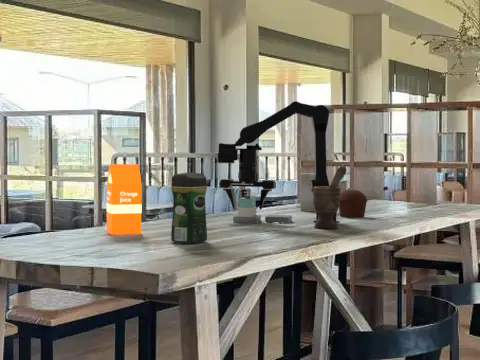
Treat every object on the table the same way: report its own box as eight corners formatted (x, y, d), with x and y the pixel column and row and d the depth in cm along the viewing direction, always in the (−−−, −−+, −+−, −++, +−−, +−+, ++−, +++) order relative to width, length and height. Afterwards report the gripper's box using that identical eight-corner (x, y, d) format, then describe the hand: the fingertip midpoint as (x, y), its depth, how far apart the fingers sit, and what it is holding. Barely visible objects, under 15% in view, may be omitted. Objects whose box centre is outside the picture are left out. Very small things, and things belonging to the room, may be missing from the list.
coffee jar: (188, 239, 216) (189, 171, 215) (211, 241, 211) (212, 172, 210) (165, 242, 208) (165, 172, 207) (188, 245, 203) (189, 173, 202)
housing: (252, 216, 264) (252, 196, 264) (238, 216, 265) (238, 196, 265) (256, 215, 271) (256, 195, 270) (242, 214, 272) (242, 195, 271)
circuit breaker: (319, 208, 327) (319, 172, 326) (319, 211, 313) (319, 174, 312) (301, 208, 328) (301, 172, 327) (300, 211, 314) (300, 173, 313)
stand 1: (260, 220, 271) (260, 215, 271) (256, 223, 263) (256, 217, 263) (238, 220, 273) (238, 214, 273) (233, 222, 265) (233, 216, 265)
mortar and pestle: (352, 228, 250) (353, 165, 249) (342, 230, 243) (343, 166, 242) (319, 226, 256) (320, 164, 255) (308, 228, 248) (309, 165, 247)
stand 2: (291, 221, 272) (291, 215, 272) (288, 223, 264) (288, 217, 264) (269, 220, 273) (269, 214, 273) (265, 222, 266) (265, 216, 266)
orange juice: (106, 231, 232) (106, 164, 231) (135, 230, 235) (136, 164, 235) (111, 234, 225) (111, 164, 224) (141, 233, 228) (142, 164, 227)
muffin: (373, 217, 289) (373, 190, 289) (346, 218, 285) (347, 191, 284) (356, 215, 300) (357, 188, 300) (331, 215, 296) (331, 189, 296)
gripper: (278, 163, 273) (278, 208, 274) (226, 162, 277) (225, 206, 277) (273, 164, 262) (273, 210, 263) (219, 163, 266) (218, 209, 267)
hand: (247, 209), depth 268 cm, fingers open, 9 cm apart
